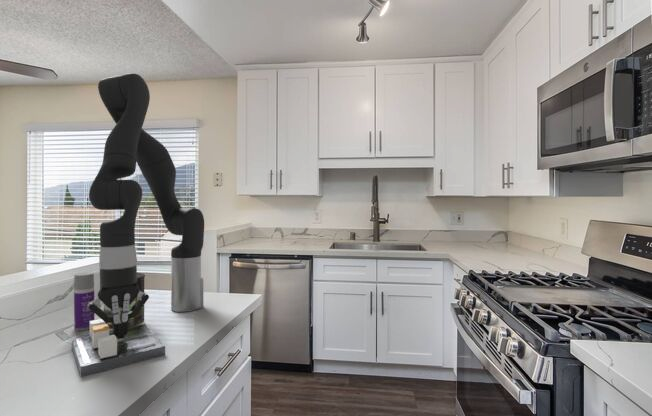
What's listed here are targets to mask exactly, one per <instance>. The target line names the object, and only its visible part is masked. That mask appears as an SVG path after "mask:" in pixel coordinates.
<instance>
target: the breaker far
mask: <svg viewBox="0 0 652 416" xmlns="http://www.w3.org/2000/svg"><path fill="white" fill-rule="evenodd" d="M103 324H106V322H104V321H103V320H102V319H101V318H98V319H94V320H92V321H90V329H89V335H90V337H91V339H92V327H93V326H98V325H103Z"/></svg>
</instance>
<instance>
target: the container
mask: <svg viewBox="0 0 652 416" xmlns="http://www.w3.org/2000/svg"><path fill="white" fill-rule="evenodd" d="M73 279H74V282H73V319H74V320H73V322H74V324H73V325H74V327H73V328H74V330H75V331H85V330H90V321H92V320H95V313H94V312H93V311H91V310H90V309H89V307H88V305H87V304H88V303H89V302H92V301H93V300H95V273H94V272H92V271H91V272H90V271H89V272H88V271H87V272H78V273H74V278H73Z"/></svg>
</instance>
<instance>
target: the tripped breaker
mask: <svg viewBox="0 0 652 416" xmlns="http://www.w3.org/2000/svg"><path fill="white" fill-rule="evenodd" d="M105 336H109V326H108V325H107V324H103V325H98V326H93V327H92V346H93V348H98V338H100V337H105Z"/></svg>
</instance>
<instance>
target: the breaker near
mask: <svg viewBox="0 0 652 416" xmlns="http://www.w3.org/2000/svg"><path fill="white" fill-rule="evenodd" d="M98 354H99V356H100V359H102V358H106V357H110V356H114V355H117V338H116V336H115V335H110V336H105V337H100V338H98Z"/></svg>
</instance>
